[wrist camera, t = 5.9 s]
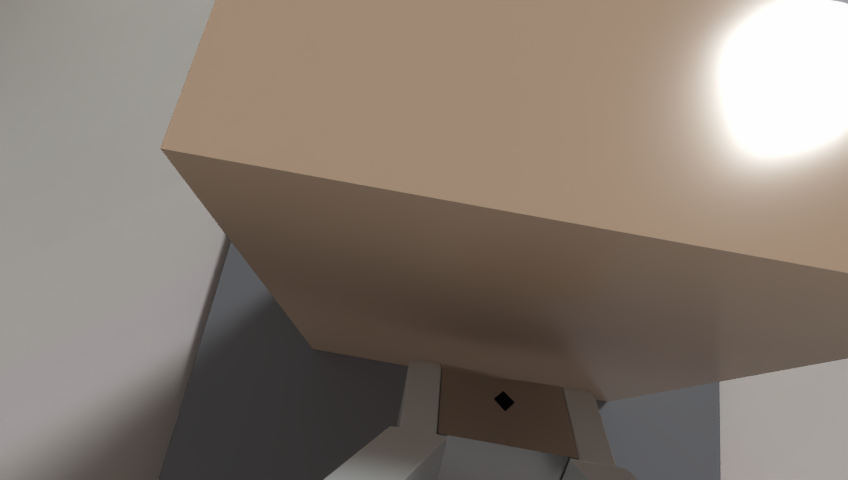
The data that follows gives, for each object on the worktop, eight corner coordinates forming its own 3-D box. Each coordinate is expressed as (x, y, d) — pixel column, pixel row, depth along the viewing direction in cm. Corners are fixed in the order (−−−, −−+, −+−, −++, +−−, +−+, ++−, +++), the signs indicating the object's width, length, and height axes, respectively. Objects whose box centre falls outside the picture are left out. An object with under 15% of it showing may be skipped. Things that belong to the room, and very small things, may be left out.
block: (607, 401, 15) (1083, 315, 5) (312, 349, 15) (160, 149, 5) (613, 293, 16) (1016, 33, 6) (337, 243, 16) (255, -109, 6)
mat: (710, 611, 14) (721, 616, 14) (156, 512, 14) (147, 515, 14) (707, -12, 21) (714, -22, 20) (333, -80, 21) (332, -92, 20)
